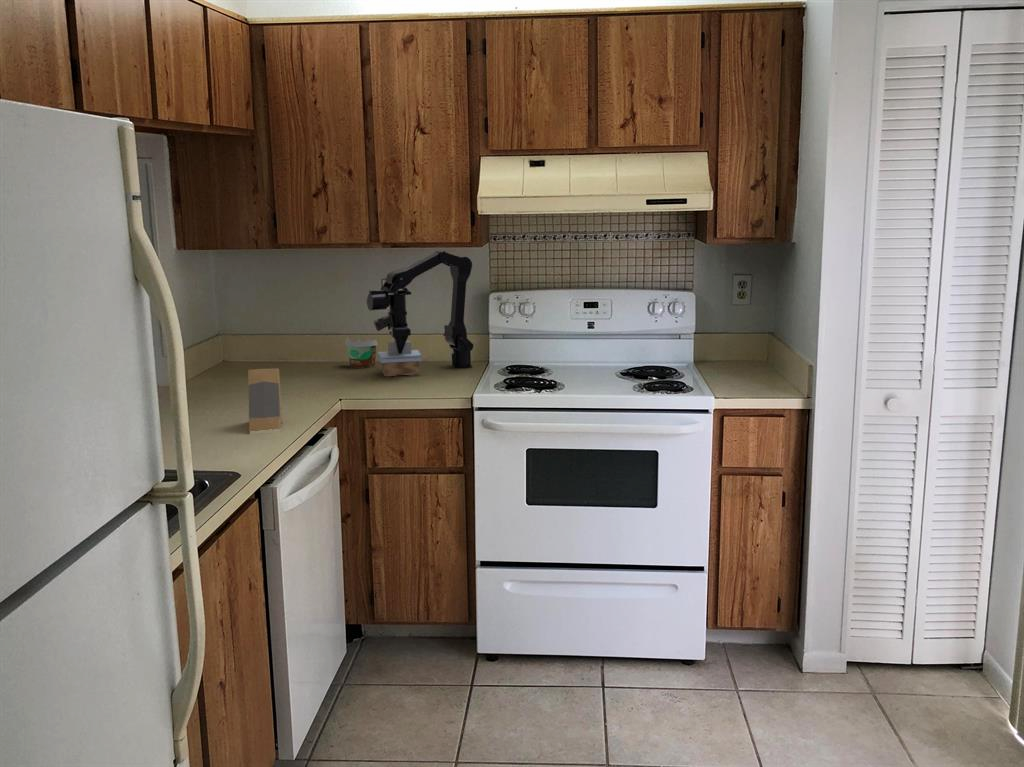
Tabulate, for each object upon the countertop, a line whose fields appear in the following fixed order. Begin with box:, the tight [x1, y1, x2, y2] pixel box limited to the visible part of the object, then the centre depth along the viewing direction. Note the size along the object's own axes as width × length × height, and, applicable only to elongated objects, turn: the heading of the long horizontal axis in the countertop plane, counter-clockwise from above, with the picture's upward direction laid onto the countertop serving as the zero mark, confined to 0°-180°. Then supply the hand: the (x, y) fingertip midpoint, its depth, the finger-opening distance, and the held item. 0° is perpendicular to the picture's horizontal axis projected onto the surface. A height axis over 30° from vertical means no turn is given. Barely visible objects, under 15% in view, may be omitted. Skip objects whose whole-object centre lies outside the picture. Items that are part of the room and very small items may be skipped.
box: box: [381, 361, 420, 377], centre depth 324 cm, size 12×9×5 cm
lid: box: [377, 340, 423, 364], centre depth 323 cm, size 14×11×6 cm
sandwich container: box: [247, 368, 283, 432], centre depth 253 cm, size 9×15×15 cm, turn 12°
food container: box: [345, 338, 379, 369], centre depth 337 cm, size 12×6×10 cm, turn 73°
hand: (399, 352), depth 323 cm, fingers closed on lid, 2 cm apart
